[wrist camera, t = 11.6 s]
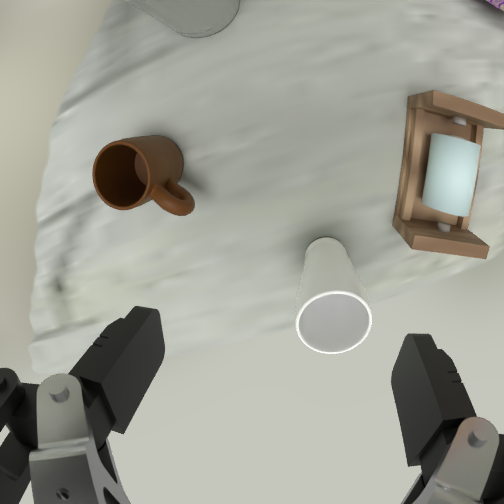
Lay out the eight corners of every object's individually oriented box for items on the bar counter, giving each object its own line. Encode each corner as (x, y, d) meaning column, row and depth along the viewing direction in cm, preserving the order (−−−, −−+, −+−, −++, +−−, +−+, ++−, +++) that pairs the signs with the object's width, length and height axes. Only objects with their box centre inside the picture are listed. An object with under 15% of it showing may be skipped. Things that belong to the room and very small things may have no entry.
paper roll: (423, 129, 30) (445, 131, 25) (465, 141, 30) (490, 145, 24) (413, 200, 34) (432, 214, 28) (454, 208, 33) (476, 222, 27)
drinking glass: (358, 237, 37) (385, 299, 24) (343, 284, 40) (357, 360, 26) (306, 224, 38) (306, 281, 24) (293, 273, 41) (286, 347, 27)
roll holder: (408, 96, 30) (433, 90, 23) (476, 116, 29) (510, 116, 21) (392, 225, 36) (411, 249, 29) (458, 235, 35) (486, 259, 28)
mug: (226, 170, 37) (202, 184, 28) (197, 221, 40) (168, 247, 31) (147, 124, 36) (106, 127, 28) (124, 175, 39) (82, 189, 31)
